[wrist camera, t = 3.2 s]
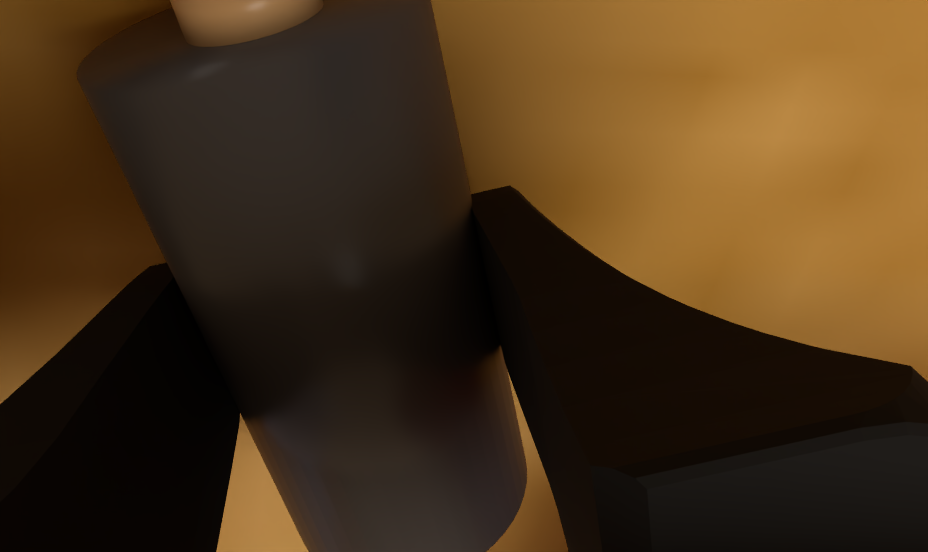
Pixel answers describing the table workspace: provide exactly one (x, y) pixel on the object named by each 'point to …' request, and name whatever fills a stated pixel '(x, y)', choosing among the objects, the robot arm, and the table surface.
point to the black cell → (326, 256)
